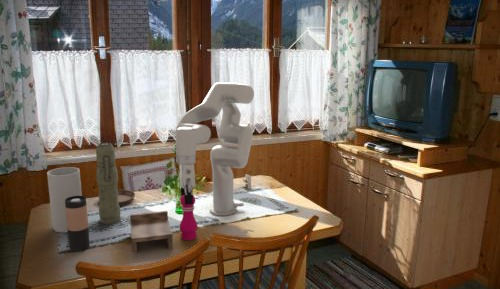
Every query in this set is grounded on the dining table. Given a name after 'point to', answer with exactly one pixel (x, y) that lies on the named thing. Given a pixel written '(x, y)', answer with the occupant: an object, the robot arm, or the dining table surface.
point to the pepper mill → (188, 221)
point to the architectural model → (247, 181)
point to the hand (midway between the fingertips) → (186, 200)
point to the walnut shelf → (150, 228)
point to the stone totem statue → (107, 184)
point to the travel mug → (77, 223)
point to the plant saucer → (125, 196)
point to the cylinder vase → (62, 193)
